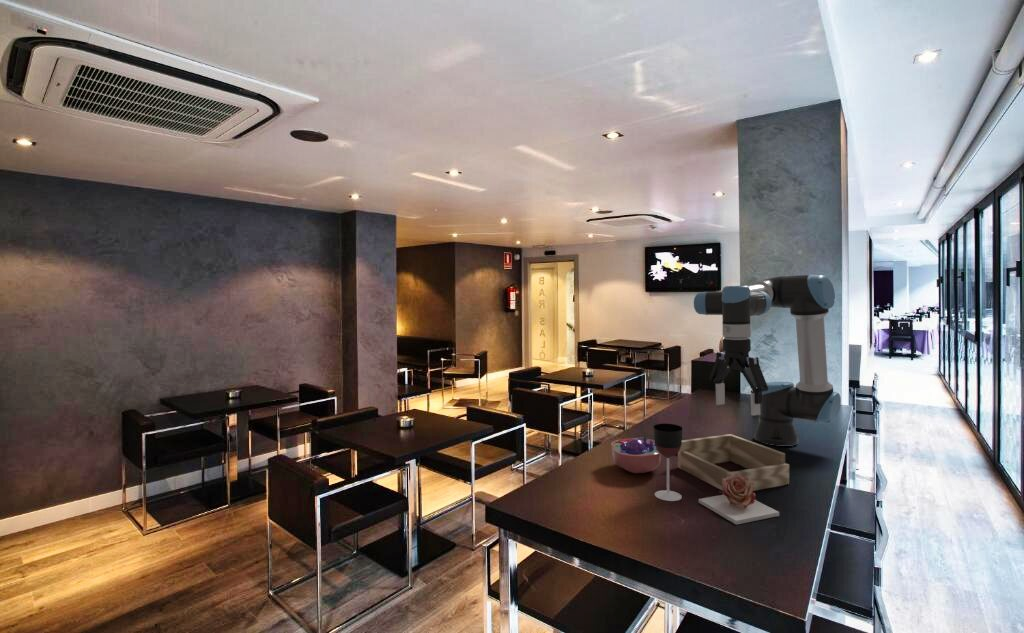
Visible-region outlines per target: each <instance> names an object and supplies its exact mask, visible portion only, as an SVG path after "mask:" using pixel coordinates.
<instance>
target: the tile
mask: <svg viewBox="0 0 1024 633" xmlns="http://www.w3.org/2000/svg"><path fill="white" fill-rule="evenodd" d="M754 501H755V502H754V504H750V505H748V506H747V507H746V508H745V507H743V505H741V504H739V505H737V504H736V505H734V504H731V505H730V502H729V500H728V499H727V498H726V496H725V495H724V494H721V495H715V496H714V495H713V496H706V497H703V498H698V503H699V504H700V505H702V506H704V507H706V508H707V509H709V510H711V511H713V512H714V513H716V514H717V515H719V516H721V517H722V518H724V519H726V520H728V521H729V522H730V523H732V524H734V525H741V524H747V523H751V522H756V521H760V520H765V519H770V518H775V517H780V511H778V510H776V509H774V508H772V507H770V506H768V505H766V504H764V503H762V502H760V501H758V500H757V499H755V500H754Z"/></svg>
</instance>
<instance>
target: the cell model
mask: <svg viewBox="0 0 1024 633" xmlns="http://www.w3.org/2000/svg"><path fill="white" fill-rule="evenodd" d="M610 446H611V454H612V456H611V457H612V459H613V461H614V462H615V464H616V465H617V466H618V467H620V468H622V469H624V470H625V471H627V472H628V473H631V474H644V473H649V472H653V471H654V470H656V469H657V468H658V467H659V466H660V464H661V462H662V461H661V460H662V456H663V455H662V454H661V453H659V452H658V450H657V448H656V446H655V441H654V440H650V439H646V437H644V438H636V437H629V438H620V439H616V440H613V441H612V442H611V443H610Z"/></svg>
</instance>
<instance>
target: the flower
mask: <svg viewBox="0 0 1024 633" xmlns="http://www.w3.org/2000/svg"><path fill="white" fill-rule="evenodd" d="M751 486H753V483H751V482H749V479H748V478H745V477H744V476H739V475H738V474H734V475H732V476H730V477H728V478H723V479H722V489H723V491H721V490H720V491H718V493H722V495H725V496H726V498H727V499H728V500H729V502H730V505H731V504H734V505H736V504H737V505H739V504H741V505H743V507H745V508H746V507H747V506H748V505H750V504H754V502H755V501H754V500H756V492H754V491H753V489H754V487H751Z"/></svg>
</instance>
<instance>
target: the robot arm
mask: <svg viewBox="0 0 1024 633" xmlns="http://www.w3.org/2000/svg"><path fill="white" fill-rule="evenodd" d="M835 299H836V294H835V289H834V285H833V283H832V281H831V279H830V278H829V277H827V275H822V274H804V275H803V274H802V275H787V276H786V275H781V276H775V277H770V278H769V277H768V278H767V279H762V280H761V279H760V280H757V281H754V282H752V283H750V284H749V285H725V286H723V287H722V289H721V290H717V291H703V292H702V291H701V292H697V293H696V295H695V297H694V298H693V308H694V312H696V313H697V314H698V315H703V316H704V315H705V316H713V315H714V316H722V322H721V323H722V337H723V339H722V351H718V352H716V356H715V357H716V358H715V361H714V364H713V367H712V369H711V372H710V374H709V381H712V382H713V384H714V393H715V405H717V406H720V405H721V406H722V405H725V404H726V402H725V401H726V397H725V396H726V395H725V394H726V393H725V392H726V391H725V390H726V389H725V388H726V387H725V386H726V385H725V384H726V383H724V380H725V379H726V377H727V376H728V374H729V373H730V372H731V370H736V371H739V372H740V373H741V374H742V375H743V377H744V379H745V380H746V381H747V382H746V383H747V384H748V385H749V386H750V389H751V390H752V391H751V392H750V416H759V419H758V422H757V426H756V428H755V431H754V434H753V438H755V439H756V440H758V441H760V442H764V443H768V444H774V445H793V444H796V443H798V444H799V436H798V435H797V433H796V427H795V424H794V419H795V420H796V419H797V420H804V421H809V422H813V423H817V424H820V423H821V424H827V425H828V424H832V423H833V422H834V421H835V420H836V418H837V417H838V414H839V412H840V409H841V404H842V403H841V402H842V399H841V396H840V393H839V392H837V391H834V386H833V384H832V383H831V382H829V381H828V367H827V366H828V364H827V347H826V331H825V316H827V314H829V309H831V308H833V306H834V304H835V302H836V301H835ZM771 308H779V309H780V308H782V309H784V308H785V309H789V310H790V311H789V312H790V313H789V314H790V315H791V316H793V317H794V318H795V328H796V339H797V340H796V341H797V356H798V371H799V381H798V382H797V383H796V384H795V383H794V382H791V381H770V382H766V379H765V376H764V374H763V371H762V368H761V366H760V359H759V357H758V356H750V355H749V354H750V351H751V348H752V347H751V344H752V343H751V342H752V340H751V338H750V337H751V335H752V334H751V317H752V316H755V317H756V316H757V317H758V316H762V315H764V314H766V313H767V312H769V310H771ZM794 384H795V385H794ZM755 439H754V440H755ZM756 440H755V441H756Z"/></svg>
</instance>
